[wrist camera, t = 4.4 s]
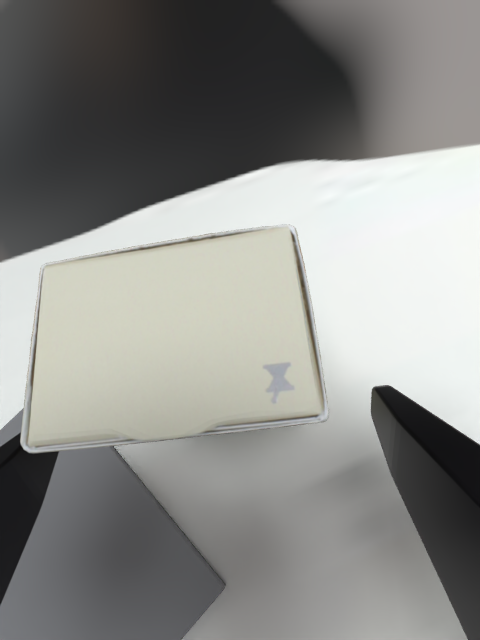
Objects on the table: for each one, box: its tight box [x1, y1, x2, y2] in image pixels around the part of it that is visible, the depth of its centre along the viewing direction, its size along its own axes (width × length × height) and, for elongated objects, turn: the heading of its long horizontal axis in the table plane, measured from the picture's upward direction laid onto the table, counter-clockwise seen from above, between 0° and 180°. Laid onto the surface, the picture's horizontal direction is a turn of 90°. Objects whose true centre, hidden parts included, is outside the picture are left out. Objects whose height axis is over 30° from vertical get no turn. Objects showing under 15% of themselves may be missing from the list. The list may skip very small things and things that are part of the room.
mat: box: [0, 408, 225, 640], centre depth 17 cm, size 14×10×1 cm
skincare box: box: [20, 225, 329, 454], centre depth 13 cm, size 6×4×12 cm
